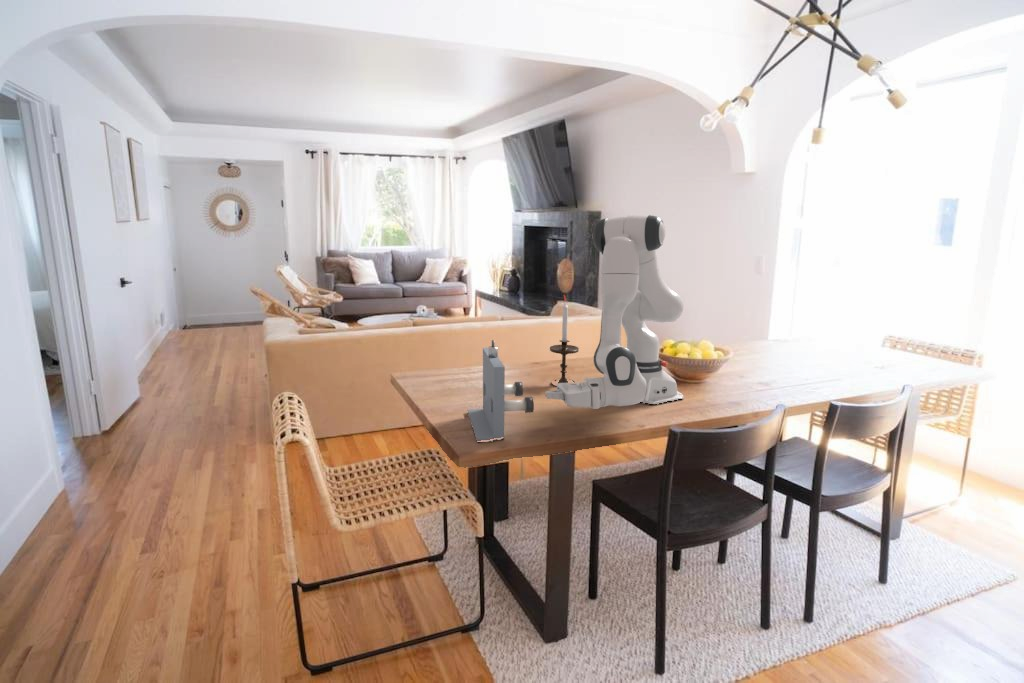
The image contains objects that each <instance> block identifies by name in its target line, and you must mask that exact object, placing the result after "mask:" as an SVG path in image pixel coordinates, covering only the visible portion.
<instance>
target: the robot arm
mask: <svg viewBox="0 0 1024 683" xmlns="http://www.w3.org/2000/svg"><path fill="white" fill-rule="evenodd" d="M665 228H666V227H665V224H664V221H663V220H662V219H661V218H660V217H659V216H657V215H651V214H650V215H649V214H648V215H626V216H617V217H612V218H608V217H606V218H602V219H599V220H597V221H596V222H595V224H594V225H593V229H592V235H591V236H592V243H593V246H594V248H595V249H596V250H597V251H598V252H600V253H601V255H602V258H601V268H600V274H601V275H600V290H601V291H600V292H601V294H600V295H601V307H602V308H601V321H600V336H599V337H600V338H599V343H598V345H597V347H596V349H595V352H594V353H593V354H594V355H593V364H594V367H595V369H596V370H597V371H598V373H600V374H602V375H603V376H602V377H587V378H586V377H585V378H584V381H583V382H575V383H558V384H557V387H556V389H553V390H546V391H545V392H544V395H545V397H546V399H547V400H551V399H552V400H553V399H554V400H562V402H564V404H566V406H567V407H570V408H571V407H572V408H587V409H589V408H590V409H592V410H598V409H600V408H606V407H608V406H615V407H624V406H632V405H637V404H641V403H640V402H643V403H642V404H645V403H649V404H657V405H660V404H659V403H662V404H664V403H663V402H667V401H672V402H675V401H674V400H677V401H679V400H678V399H682V400H684V395H683V393H681V392H680V391H678V385H677V382H676V379H674V378H673V377H672V376H671V375H670V374H668V373H667V372H666V371H665V370H663V367H664V368H668V366H669V363H668V361H665V360H661V359H659V356H660V354H659V352H660V339H659V337H658V335H657V334H656V333H655V332H653V331H652V330H651V329H649V328H648V326H647V324H646V322H654V323H655V322H656V323H661V324H663V323H673V322H676V321H677V320H679V319H680V318H681V316H682V314H683V311H684V300H683V299H682V297H681V296H680V294H679V293H677V292H675V291H674V290H672V289H671V288H670V287H669V286H668V284H666V282H665V281H664V280H663V278H662V276H661V274H660V270H659V265H658V258H657V251H656V250H658V249H660V248H661V247H662V245H663V244H664V240H665V237H666V229H665ZM622 328H623V329H624V333H625V337H626V347H624V346H622V342H621V340H622V339H621V337H622ZM667 403H668V402H667ZM649 404H648V405H649Z"/></svg>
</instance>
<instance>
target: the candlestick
mask: <svg viewBox="0 0 1024 683" xmlns="http://www.w3.org/2000/svg"><path fill="white" fill-rule="evenodd" d="M566 297H567V296H566V295H565V294H563V300H564V305H563V306H562V322H561V323H562V330H561V331H562V332H561V339H559V342H560V343H561V344H554V345H551V346H550V347H549V351H550V352H551V353H554V354H560V355H561V363H560V365H559V367H560V368H561V370H560V373H561V377H560V378H559V379H560V380H559V382H558V383H568V381H567V379H568V378H566V373H567V370H566V369H567V368H568V364H567V363H566V359H567V355H570V354H577V353H579V348H580V347H578V346H576V345H572V344H568V343H570V342H571V340H568V317H569V316H568V315H569V309H568V308H569V305H568V304H567V298H566ZM571 380H572V379H571ZM572 381H573V382H574V383H576V381H575V380H572Z"/></svg>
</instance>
